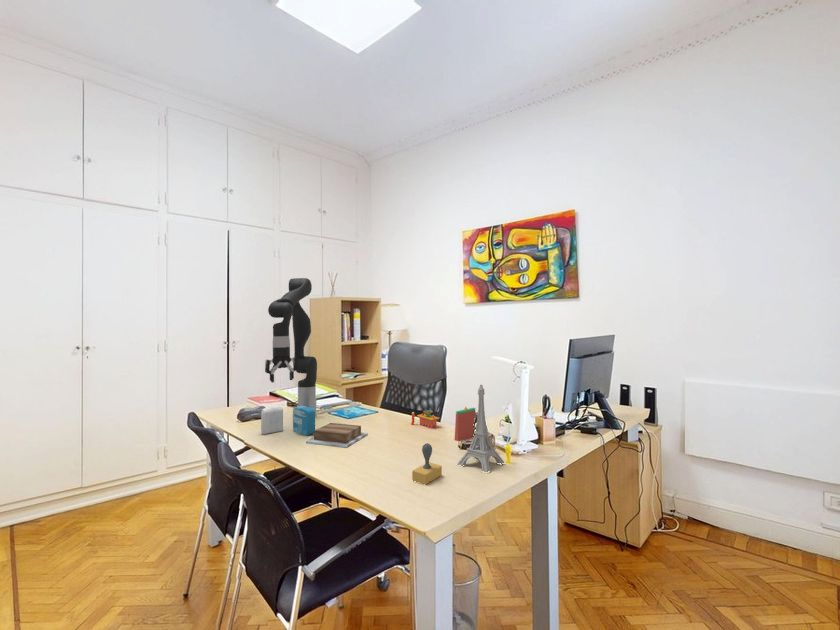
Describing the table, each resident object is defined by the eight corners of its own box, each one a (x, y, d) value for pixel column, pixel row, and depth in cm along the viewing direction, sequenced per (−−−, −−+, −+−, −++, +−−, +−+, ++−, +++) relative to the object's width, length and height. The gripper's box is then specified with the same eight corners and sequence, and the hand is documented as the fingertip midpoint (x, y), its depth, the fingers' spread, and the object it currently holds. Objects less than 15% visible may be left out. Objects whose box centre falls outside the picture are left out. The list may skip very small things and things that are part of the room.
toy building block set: (457, 441, 184) (457, 409, 184) (408, 425, 211) (408, 397, 211) (476, 436, 192) (476, 405, 192) (426, 421, 219) (426, 394, 219)
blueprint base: (330, 430, 200) (330, 420, 200) (367, 434, 193) (367, 424, 193) (305, 443, 181) (305, 432, 181) (346, 448, 175) (346, 436, 175)
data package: (292, 431, 199) (292, 406, 199) (301, 429, 202) (301, 404, 202) (307, 436, 191) (307, 410, 191) (315, 434, 195) (315, 408, 194)
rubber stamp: (428, 472, 148) (428, 438, 148) (442, 475, 145) (442, 441, 145) (411, 481, 140) (411, 445, 140) (425, 485, 137) (425, 449, 137)
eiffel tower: (505, 464, 156) (505, 384, 156) (487, 474, 146) (487, 389, 146) (475, 456, 165) (475, 380, 165) (456, 465, 155) (456, 385, 155)
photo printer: (280, 429, 203) (280, 403, 203) (284, 430, 200) (284, 405, 200) (259, 433, 196) (259, 407, 196) (263, 435, 193) (263, 408, 193)
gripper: (293, 344, 198) (294, 378, 198) (262, 346, 189) (263, 381, 190) (299, 345, 192) (300, 380, 192) (268, 347, 183) (268, 384, 184)
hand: (281, 381), depth 191 cm, fingers open, 8 cm apart
